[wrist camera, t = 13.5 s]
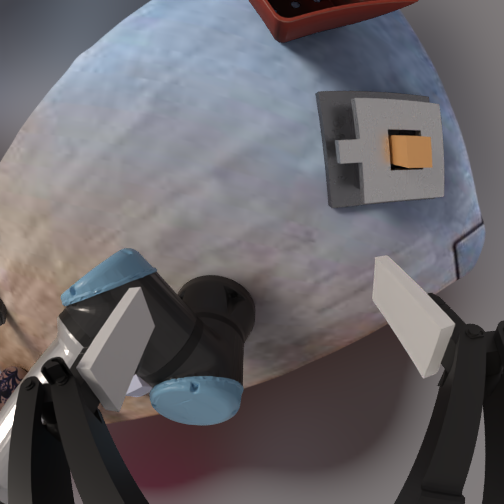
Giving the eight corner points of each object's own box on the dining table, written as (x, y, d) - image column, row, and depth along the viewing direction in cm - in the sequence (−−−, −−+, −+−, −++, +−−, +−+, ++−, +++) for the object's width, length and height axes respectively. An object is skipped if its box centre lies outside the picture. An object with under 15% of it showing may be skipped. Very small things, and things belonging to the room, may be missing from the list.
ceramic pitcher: (34, 368, 63) (1, 417, 40) (53, 403, 72) (30, 448, 49) (5, 353, 63) (-27, 395, 40) (24, 388, 71) (0, 428, 48)
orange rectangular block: (397, 159, 37) (432, 167, 28) (376, 160, 37) (408, 167, 28) (395, 134, 36) (430, 136, 26) (373, 134, 36) (406, 135, 27)
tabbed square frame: (428, 195, 41) (456, 208, 33) (328, 205, 42) (344, 220, 35) (422, 97, 34) (451, 93, 26) (315, 93, 35) (329, 83, 28)
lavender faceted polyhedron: (135, 354, 56) (110, 371, 59) (126, 374, 50) (101, 389, 53) (164, 376, 59) (136, 391, 62) (157, 397, 53) (129, 409, 56)
